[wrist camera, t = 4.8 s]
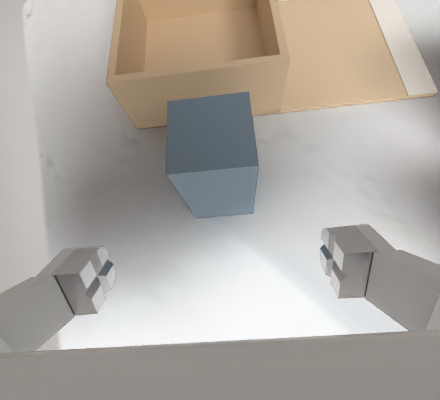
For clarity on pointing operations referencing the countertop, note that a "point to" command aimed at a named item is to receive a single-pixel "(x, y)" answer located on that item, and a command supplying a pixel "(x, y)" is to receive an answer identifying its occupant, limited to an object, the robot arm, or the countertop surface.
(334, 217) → the countertop surface
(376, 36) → the mailer box
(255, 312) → the countertop surface
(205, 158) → the blue rectangular block
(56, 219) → the countertop surface
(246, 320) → the countertop surface
